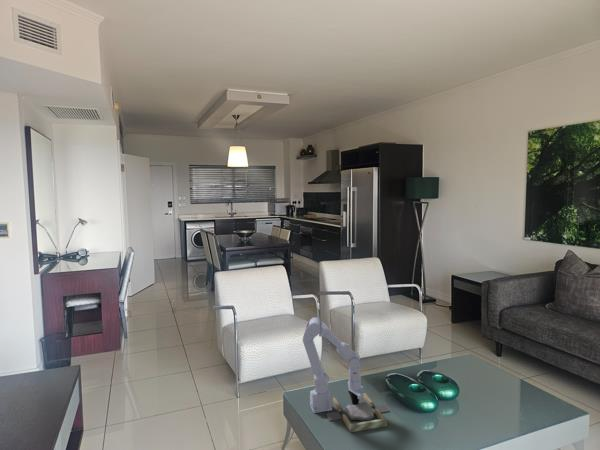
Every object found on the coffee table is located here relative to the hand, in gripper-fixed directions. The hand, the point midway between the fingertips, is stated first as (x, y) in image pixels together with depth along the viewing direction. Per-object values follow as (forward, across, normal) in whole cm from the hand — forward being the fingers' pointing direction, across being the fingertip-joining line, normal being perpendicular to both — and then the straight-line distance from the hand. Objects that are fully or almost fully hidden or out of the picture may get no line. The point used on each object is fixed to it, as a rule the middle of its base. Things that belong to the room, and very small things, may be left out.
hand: (355, 405), depth 191 cm
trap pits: (+1, -4, 0) cm, 4 cm away
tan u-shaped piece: (+1, -4, 0) cm, 4 cm away
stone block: (+2, -6, 0) cm, 6 cm away
